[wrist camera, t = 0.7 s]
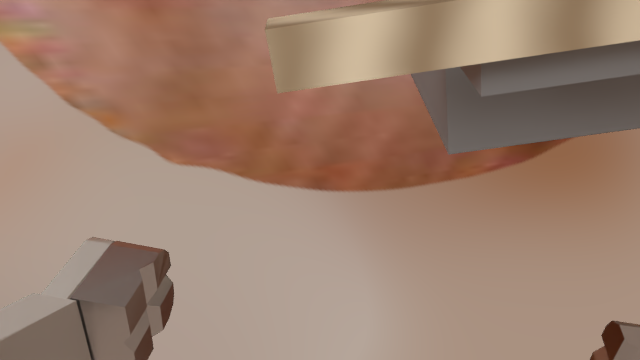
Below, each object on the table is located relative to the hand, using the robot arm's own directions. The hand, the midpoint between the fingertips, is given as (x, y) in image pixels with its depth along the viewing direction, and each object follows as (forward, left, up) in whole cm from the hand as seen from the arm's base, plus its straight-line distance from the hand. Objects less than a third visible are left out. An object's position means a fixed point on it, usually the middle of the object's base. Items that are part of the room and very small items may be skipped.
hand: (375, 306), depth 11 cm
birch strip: (-6, +8, -19) cm, 21 cm away
